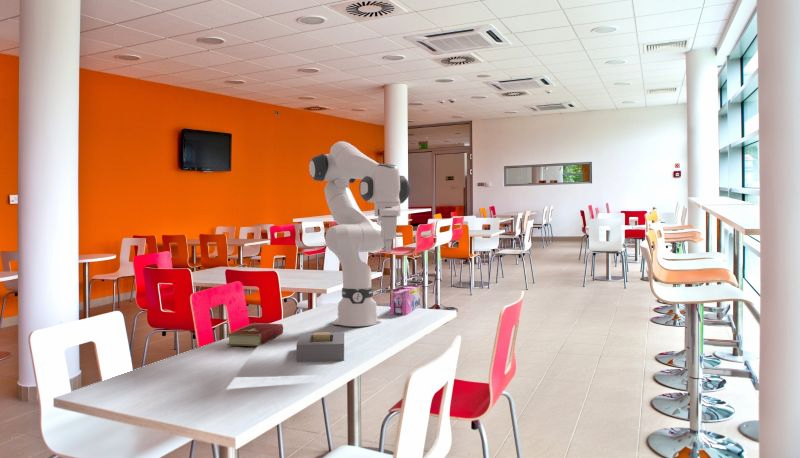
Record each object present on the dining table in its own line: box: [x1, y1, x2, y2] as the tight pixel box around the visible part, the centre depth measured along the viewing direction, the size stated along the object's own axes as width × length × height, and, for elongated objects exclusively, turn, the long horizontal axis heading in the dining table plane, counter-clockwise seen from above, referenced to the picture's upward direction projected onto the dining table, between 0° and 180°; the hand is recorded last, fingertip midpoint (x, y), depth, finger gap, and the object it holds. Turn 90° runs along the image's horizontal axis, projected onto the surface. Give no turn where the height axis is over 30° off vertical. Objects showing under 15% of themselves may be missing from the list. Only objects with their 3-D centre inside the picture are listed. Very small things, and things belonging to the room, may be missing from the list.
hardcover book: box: [226, 322, 284, 347], centre depth 208 cm, size 12×21×4 cm, turn 170°
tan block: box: [313, 331, 331, 342], centre depth 183 cm, size 4×5×6 cm
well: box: [295, 331, 345, 363], centre depth 183 cm, size 18×14×5 cm
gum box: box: [390, 284, 421, 316], centre depth 252 cm, size 22×7×13 cm, turn 162°
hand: (387, 251), depth 199 cm, fingers open, 6 cm apart
